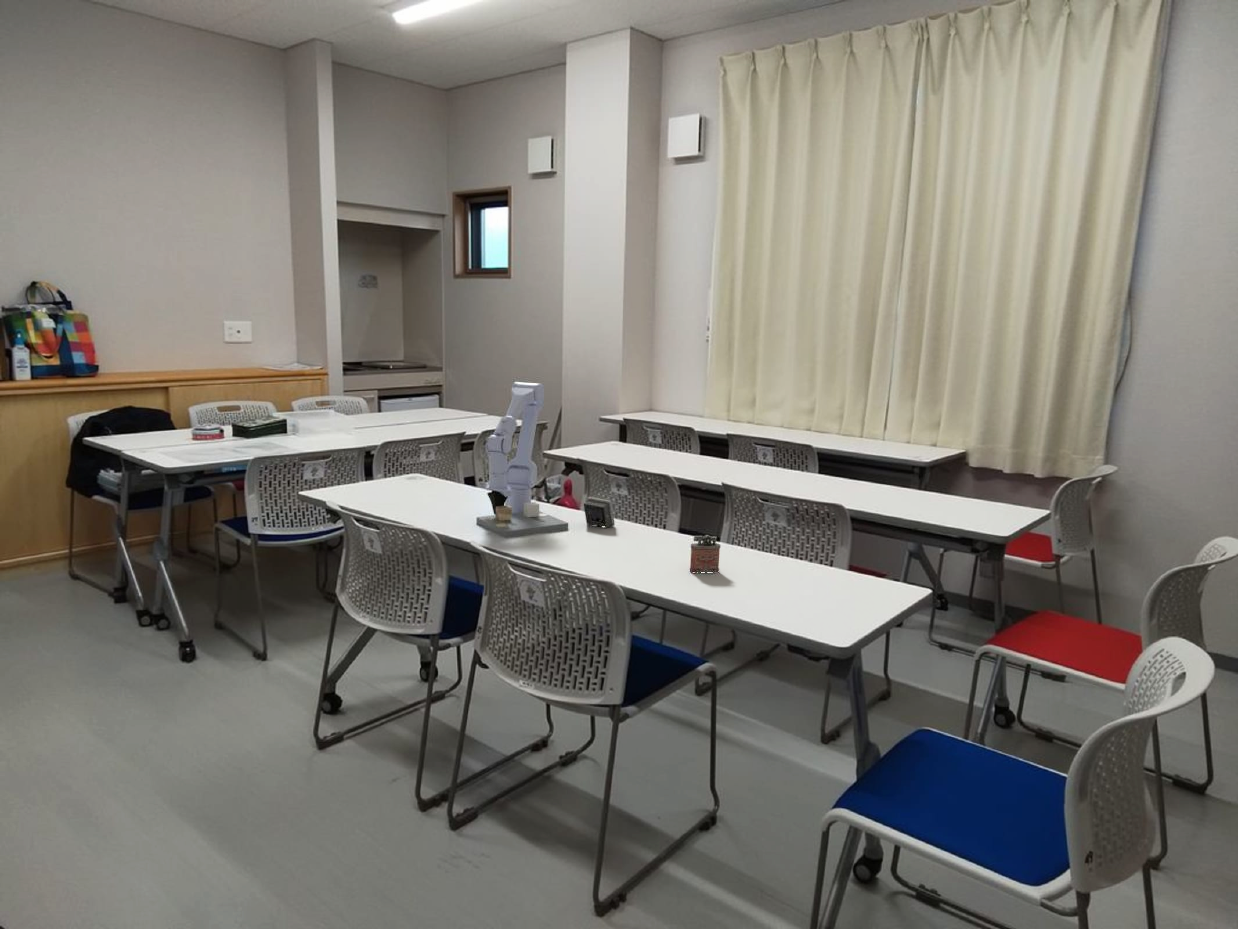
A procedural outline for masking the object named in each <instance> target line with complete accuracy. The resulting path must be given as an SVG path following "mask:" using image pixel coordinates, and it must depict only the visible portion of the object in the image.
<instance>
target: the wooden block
mask: <svg viewBox="0 0 1238 929" xmlns="http://www.w3.org/2000/svg"><path fill="white" fill-rule="evenodd" d="M511 515H512V507H510V506H508V505H505V504H504V506H496V519H497V520H499V521H504V520H511Z"/></svg>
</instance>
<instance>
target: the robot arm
mask: <svg viewBox="0 0 1238 929" xmlns="http://www.w3.org/2000/svg"><path fill="white" fill-rule="evenodd" d="M510 394H511V396H510V398H511V402H510V405H509V407H508V409H507V412H506V414H505V416H502V417H500V420H499V421H498V424H497V425H496V427H495V430H494V432H493V434H491V435H489V436H488V437H487V438H486V442H485V450H486V453H487V455H486V456H487V458H488V461H489V463H488V476H489V477H488V481H487V482H486V481H485V483H484V485H485V486H484V488H485V490H487V491H488V492H487V496H488V498H489V501H490V503H491V508H492V511H493V515H496V506H505V505H508V506H510V507H512V513H516V512H524V503H532V488H534V486H536V483H537V481H538V466H537V465H536V463H535V462H534V460H532V455H533V454H532V453H533V448H534V442H535V441H534V440H535V435H536V429H537V422H538V417H539V413H540V411H541V410H542V409H543V408H544V407H543V406H544V401H545V395H546V392H545V388H544V386H543V383H541V382H540V383H534V382H521V381H520V382H519V381H515V382H514V383H513V384H512V386H511V390H510ZM521 413H522V420H521V425H520V430H519V435H518V443H517V447H516V448H517V449H516V455H515V457H514V458H512V459H511V460H509V461H508V454H509V453H510V451H511V449H512V442H513V436H514V433H515V431H516V430H517V427H518V423H517V420H518V418H519V416H520V415H521Z"/></svg>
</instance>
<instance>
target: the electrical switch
mask: <svg viewBox="0 0 1238 929" xmlns="http://www.w3.org/2000/svg"><path fill="white" fill-rule="evenodd" d="M583 509H584V514H585V515H584V516H585V521H586V525H587V524H588V525H587V526H591V525H599V526H605V527H606V528H605V529H607V528H610V526H613V527H615V517H614V510H613V503H612V500H609V499H604V498H597V497H592V496H588V497H587V498H586V501H585V502H584V503H583Z"/></svg>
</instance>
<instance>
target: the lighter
mask: <svg viewBox="0 0 1238 929" xmlns="http://www.w3.org/2000/svg"><path fill="white" fill-rule="evenodd" d="M693 541H694V542H695V543H691V544H690V566H689V570H690V572H696V573H697V572H698V573H701V572H705V573H707V572H718V571H719V572H720V568H719V566H720V551H721V550H720V549H721V544H720V543H717V536H714V535H713V536H710V535H709V534H705V535H704V536H703V535H694V536H693ZM690 572H689V573H690ZM719 572H718V573H719ZM696 573H695V574H696Z"/></svg>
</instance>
